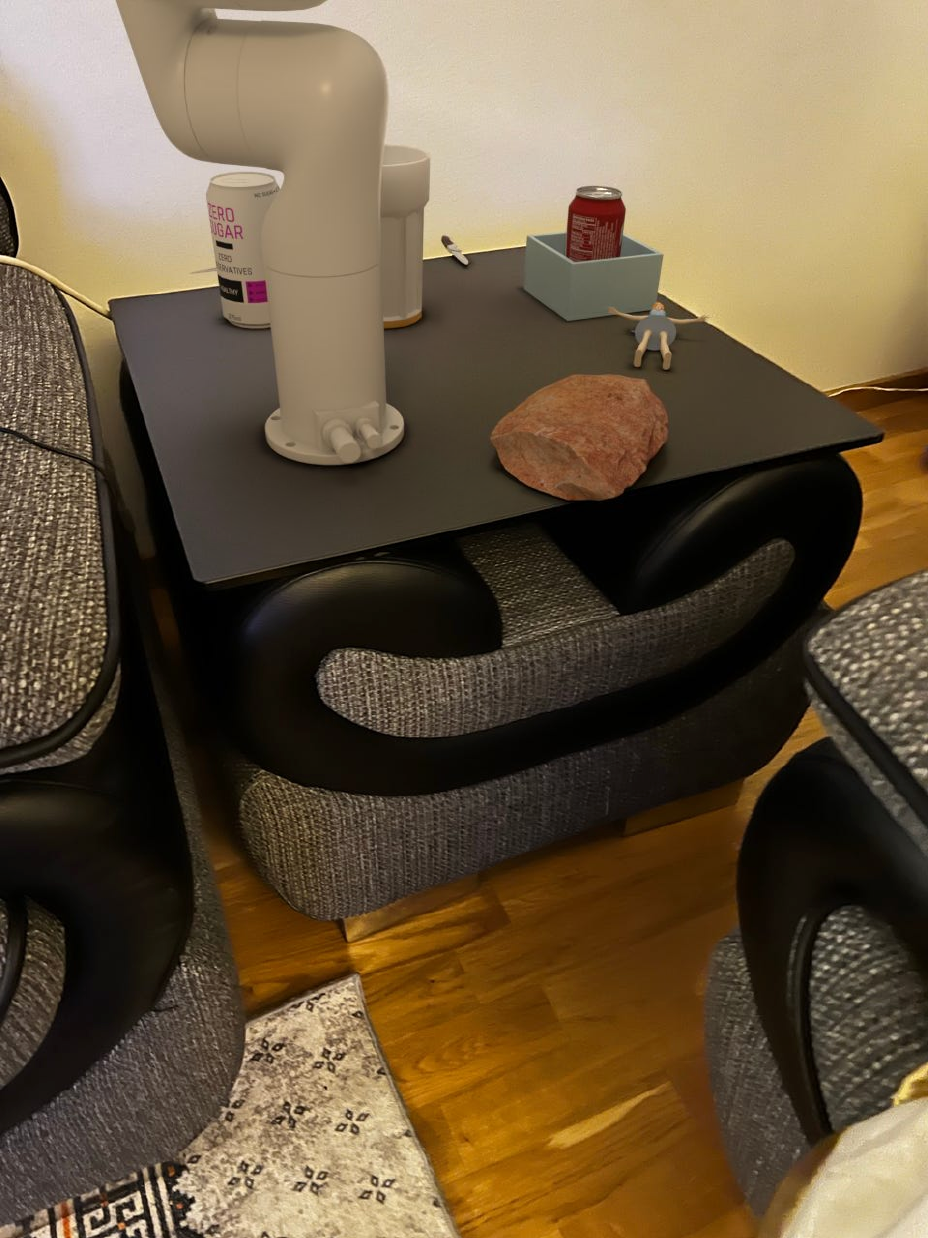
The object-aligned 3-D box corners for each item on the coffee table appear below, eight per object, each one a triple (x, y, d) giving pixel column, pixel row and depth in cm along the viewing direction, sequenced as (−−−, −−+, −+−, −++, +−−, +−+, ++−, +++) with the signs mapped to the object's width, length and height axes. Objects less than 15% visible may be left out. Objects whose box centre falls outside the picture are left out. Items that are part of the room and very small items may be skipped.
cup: (329, 302, 111) (318, 144, 100) (419, 296, 113) (417, 141, 102) (344, 335, 102) (333, 167, 91) (441, 328, 105) (442, 163, 94)
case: (655, 309, 111) (663, 253, 107) (567, 321, 107) (572, 263, 103) (606, 279, 120) (612, 226, 116) (523, 289, 116) (526, 235, 112)
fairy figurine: (601, 332, 95) (610, 283, 103) (596, 374, 98) (605, 323, 106) (712, 342, 93) (712, 292, 102) (704, 384, 97) (704, 331, 105)
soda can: (613, 305, 110) (626, 199, 103) (558, 301, 111) (567, 196, 103) (616, 287, 115) (629, 186, 108) (563, 283, 116) (572, 182, 109)
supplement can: (301, 307, 109) (289, 171, 100) (284, 332, 103) (269, 189, 93) (236, 303, 110) (217, 168, 100) (214, 328, 103) (192, 186, 94)
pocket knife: (449, 240, 133) (436, 238, 132) (450, 234, 132) (437, 232, 132) (472, 269, 123) (458, 267, 122) (473, 262, 122) (459, 260, 121)
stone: (558, 411, 92) (464, 485, 77) (560, 353, 89) (462, 419, 74) (694, 432, 86) (621, 516, 71) (701, 371, 83) (626, 446, 68)
